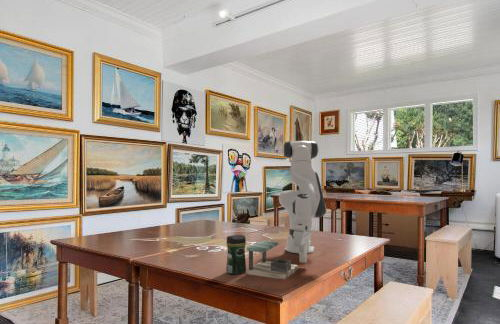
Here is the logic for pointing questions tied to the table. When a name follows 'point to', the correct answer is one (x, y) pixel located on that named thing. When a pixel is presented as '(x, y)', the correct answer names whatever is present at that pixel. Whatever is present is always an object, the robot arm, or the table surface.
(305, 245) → the peg
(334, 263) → the table surface
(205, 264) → the table surface
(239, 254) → the coffee jar
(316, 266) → the table surface
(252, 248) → the canopy socket
